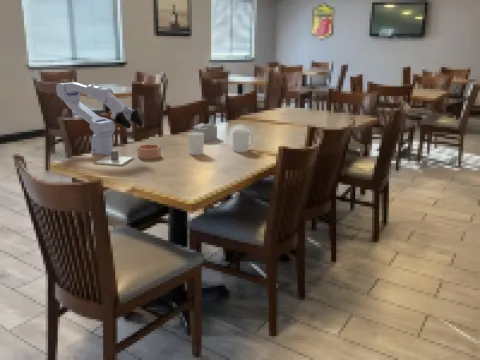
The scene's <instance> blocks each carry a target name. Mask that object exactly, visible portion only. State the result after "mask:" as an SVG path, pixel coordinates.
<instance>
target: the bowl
mask: <svg viewBox="0 0 480 360" xmlns="http://www.w3.org/2000/svg"><path fill="white" fill-rule="evenodd" d="M161 147H162V146H160V145H158V144H152V143H151V144H150V143H149V144H140V145H138V146H137V148H136V149H137V153H136V154H137V157H138V158H139V159H144V160H151V159H152V160H153V159H158V158H160V157H161V156H162V153H161V151H162V149H161Z"/></svg>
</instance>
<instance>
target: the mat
mask: <svg viewBox="0 0 480 360" xmlns="http://www.w3.org/2000/svg"><path fill="white" fill-rule="evenodd" d="M135 160H136V158H134V157H133V159H132V160H131V161H129V162H127V163H126V164H124V165H122V166H117V165H107V166H109V167H111V166H112V167H119V168H120V167H121V168H123V167H124V166H126V165H128V164H130V163H131V162H133V161H135ZM93 165H96V166H97V165H99V166H106V165H105V164H96V162H94V163H93Z"/></svg>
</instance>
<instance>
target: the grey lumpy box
mask: <svg viewBox="0 0 480 360" xmlns="http://www.w3.org/2000/svg"><path fill="white" fill-rule="evenodd" d="M193 132H201V133H204V143H205V142H212V141H216V140H218V126H217V125H216V124H214V123H210V122H208V123H204V122H201V123H199V124H197V125H194V126H193Z"/></svg>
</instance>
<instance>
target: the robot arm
mask: <svg viewBox="0 0 480 360" xmlns="http://www.w3.org/2000/svg"><path fill="white" fill-rule="evenodd" d="M55 90H56V94H57V97H58V98H60V99H61V100H62V101H63V102H64V103H65V105H66V106H67V107H68V108H69V109H70V110H71V111H73V112H74V113H75V114H77V115H78V116H80V117H81V118H82V119H83V120H84V121H86V122H87V123H89V129H90V130H91V131H92V133H93V135H92V136H91V138H90V139H91V140H90V141H91V143H90V144H91V146H90V147H91V154H95V155H96V154H97V155H107V156H109V155H110V156H111V151H112V150H114V146H113V145H114V144H113V143H114V141H113V135H114V132H115V130H116V124H118V125H121V126H123V127H125V128H127V129H131V126H132V124H131V123H130V122H129V120H130V121H131V122H133V123H134V124H136V125H137V126H138V127H142V126H143V124H144V123H143V120H142V119H141V118H140V114H139V111H138V109H131V108H129V106H128V105H125V104H123V103H122V101H120V100H119V99H118V98H117V97H116V96H115V95H114V92H113V90H112V88H110V87H108V86H107V87H103V86H101V85H99V86H98V85H96V84H95V83H91V84H89V85H85V84H82V83H79V82H76V81H73V82H59V83H57V84H56V86H55ZM80 93H83V94H85V95H86V96H87V97H90V98H92V99H96V101H97V102H100V103H102V104H104V105H105V106H106V107H107V108H108V109H109V110H110V111H111V112H112V113H111V114H110V118H111V119H108V118H106V117H103V116H102V117H101V116H100V115H98V114H97V113H95V112H94V111H93V110H91V109H89V107H87V106H86V105H85V104H83V103H82V102H81V101H80V100H81V97H80V96H81V94H80ZM128 117H130V119H129V120H128V119H127V118H128Z"/></svg>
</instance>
